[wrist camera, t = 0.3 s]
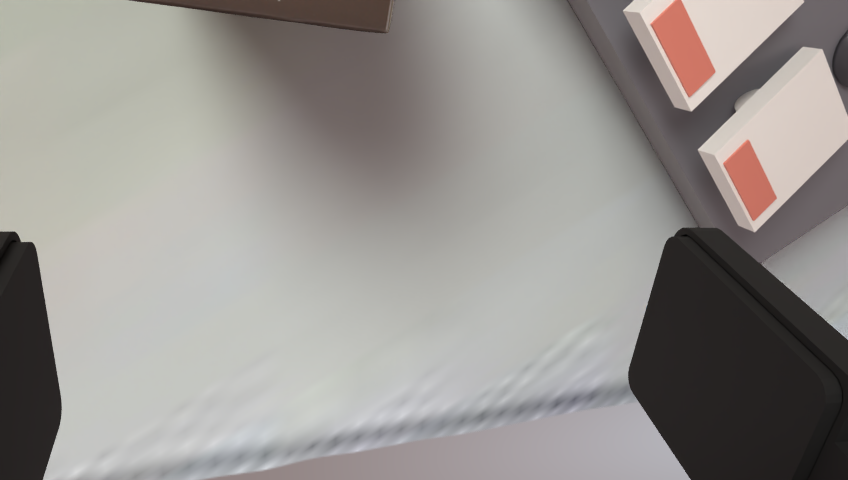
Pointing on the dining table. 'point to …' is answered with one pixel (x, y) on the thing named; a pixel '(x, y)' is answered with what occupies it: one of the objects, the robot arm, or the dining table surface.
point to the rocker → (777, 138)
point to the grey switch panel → (727, 115)
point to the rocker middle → (702, 40)
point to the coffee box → (303, 11)
